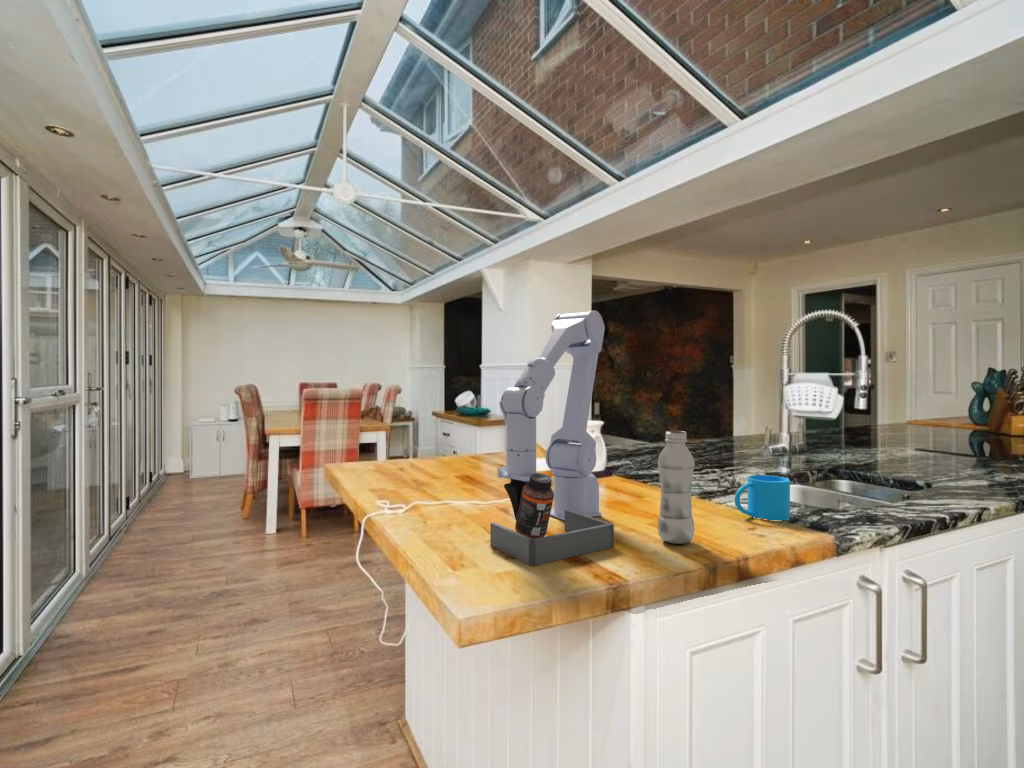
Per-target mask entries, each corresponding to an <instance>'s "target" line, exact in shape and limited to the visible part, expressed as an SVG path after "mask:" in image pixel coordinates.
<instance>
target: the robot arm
mask: <svg viewBox="0 0 1024 768" xmlns="http://www.w3.org/2000/svg"><path fill="white" fill-rule="evenodd" d="M605 329H606V327H605V323H604V320H603V317H602V315H601V314H600V313H599V311H598V310H594V309H593V310H589V311H580V312H579V311H578V312H569V313H564V312H560V313H558V314H557V315H556V316H555V317H554V320H553V321H552V322H551V334H550V336H549V338H548V339H547V342H546V343H545V346H544V347H543V350H542V352H541V353H540V356H539V357H536V358H532V359H530V360H529V361H528V362H527V365H526V367H525V369H524V370H523V372H522V373H521V375H520V376H519V378H518V379H517V381H516V382H515V383H514V386H510V387H508V388H507V389H506V390H505V391H503V393H502V395H501V397H500V401H499V403H498V405H499V408H500V410H501V411H500V412H501V413H502V415H503V423H504V425H505V426H506V432H505V433H506V434H505V435H506V439H505V440H506V441H505V442H506V445H505V446H506V450H505V451H506V464H505V465H506V466H502V467H501V466H499V467H497V471H496V472H497V476H496V477H497V478H499V479H505V480H506V479H507V480H510V482H509V483H504V484H503V487H504V490H505V492H506V493H507V495H508V498H509V500H510V502H511V506H512V512H513V515H514V519H515V520H516V519H517V514H518V509H519V504H520V499H521V494H522V489H523V487H524V485H526V484H527V483H529V480H530V476H531V474H533V473H538V471H537V417H538V416H539V415H540V413H541V412H542V410H543V407H544V399H545V397H546V396H545V395H546V394H545V393H546V392H547V389H548V388H549V386H550V385H551V383H552V382H553V379H554V377H555V376H556V370H555V368H554V367H555V366H556V364H557V363H558V362H559V361H560V359H561V358H562V357H563V355H564V354H565V353H567V354H569V355H571V356H572V358H573V361H572V367H571V370H570V371H571V372H570V377H569V385H568V390H567V391H568V392H567V397H566V402H565V408H564V415H563V419H562V426H561V427H560V428H558V430H556V431H555V432H553V434H552V435H551V437H550V443H549V444H548V446H547V448H546V451H545V455H544V457H545V458H544V459H545V464H546V466H547V468H548V469H549V470H550V474H552V475H553V492H554V498H553V509H551V512H550V516H552V517H554V518H557V519H560V520H562V521H565V510H567V509H568V510H571V511H574V512H578V513H581V514H584V515H587V516H590V517H593V518H596V517H601V516H602V515H603V514H602V512H600V485H599V484H600V483H599V481H598V479H597V477H596V476H595V475H594V474H593V473H592V472H593V470H594V469H595V467H596V465H597V464H596V463H597V452H596V451H597V450H596V447H597V441H596V440H595V439H594V437H593V436H592V435H591V434H590V433H589V432H588V429H587V427H588V422H589V416H590V415H589V414H590V411H591V410H590V408H591V403H592V398H593V397H592V396H593V389H594V385H595V378H596V371H597V365H598V358H599V353H600V352H602V349H603V348H602V347H603V342H604V335H605ZM537 479H538V478H537ZM538 480H548V478H546V477H545V478H541V479H538Z"/></svg>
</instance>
